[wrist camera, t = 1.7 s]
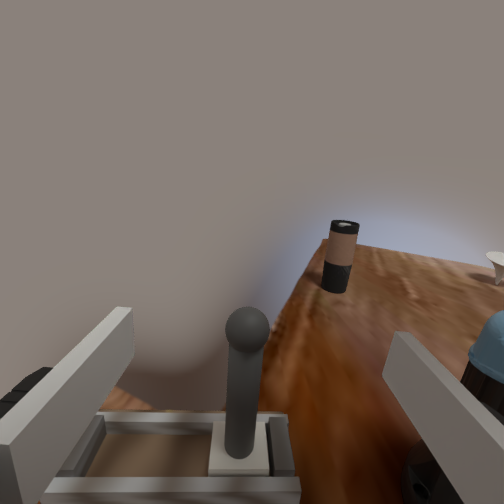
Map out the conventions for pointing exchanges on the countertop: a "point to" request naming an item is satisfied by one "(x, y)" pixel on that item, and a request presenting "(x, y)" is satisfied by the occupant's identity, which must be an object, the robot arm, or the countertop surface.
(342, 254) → the travel mug
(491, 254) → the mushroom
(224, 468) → the slider
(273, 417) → the rail base
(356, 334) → the countertop surface
